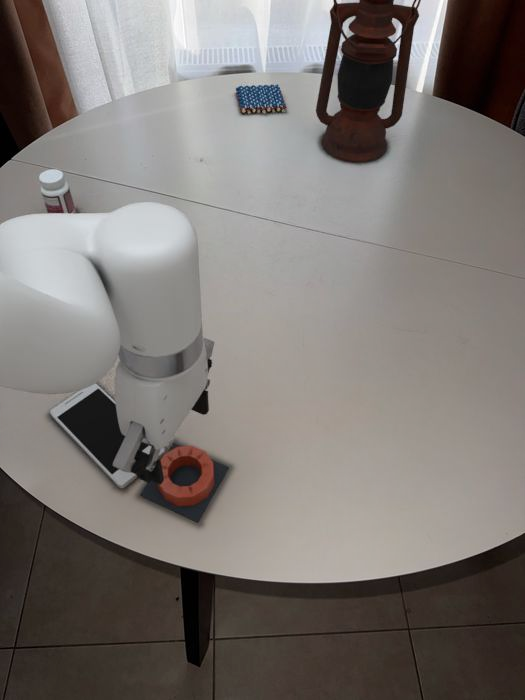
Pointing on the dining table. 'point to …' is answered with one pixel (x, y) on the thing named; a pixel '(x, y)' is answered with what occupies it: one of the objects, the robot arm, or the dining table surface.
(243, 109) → the blue beaded mat
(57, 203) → the pill bottle
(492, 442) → the dining table surface
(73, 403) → the smartphone
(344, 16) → the lantern
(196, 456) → the ring
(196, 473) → the coaster
